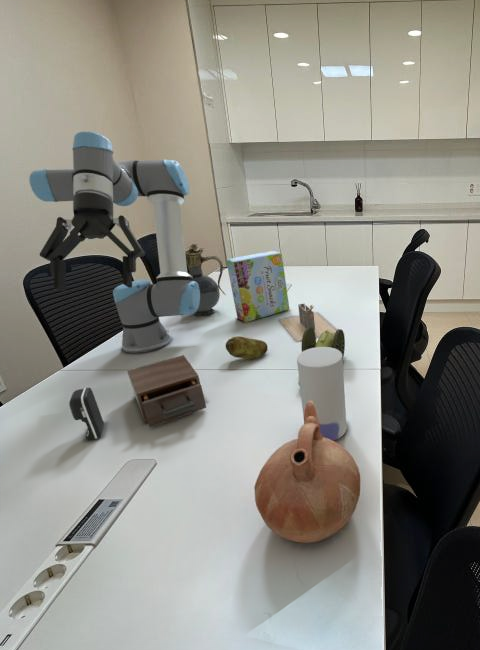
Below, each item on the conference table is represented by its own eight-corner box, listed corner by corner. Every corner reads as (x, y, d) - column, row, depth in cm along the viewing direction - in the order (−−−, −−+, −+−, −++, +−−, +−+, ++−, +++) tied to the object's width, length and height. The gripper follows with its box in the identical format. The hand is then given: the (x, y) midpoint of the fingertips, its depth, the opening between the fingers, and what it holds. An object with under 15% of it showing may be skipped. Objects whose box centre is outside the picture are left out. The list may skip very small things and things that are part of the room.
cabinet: (204, 402, 106) (198, 375, 102) (145, 423, 98) (136, 394, 94) (189, 380, 117) (183, 355, 114) (135, 397, 109) (127, 370, 106)
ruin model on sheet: (338, 332, 148) (336, 308, 144) (296, 341, 141) (294, 316, 137) (316, 313, 168) (314, 291, 165) (279, 319, 162) (276, 297, 158)
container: (352, 421, 96) (349, 349, 88) (336, 446, 88) (330, 369, 80) (316, 414, 99) (309, 343, 91) (297, 438, 91) (288, 362, 83)
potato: (267, 360, 128) (264, 338, 124) (227, 365, 125) (222, 343, 122) (268, 350, 135) (265, 329, 132) (230, 354, 133) (226, 333, 130)
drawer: (211, 415, 98) (206, 392, 96) (153, 437, 91) (146, 413, 88) (191, 385, 112) (186, 364, 110) (140, 401, 105) (133, 380, 102)
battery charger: (86, 427, 97) (71, 388, 92) (104, 422, 98) (90, 384, 94) (82, 443, 91) (65, 402, 86) (101, 438, 92) (85, 398, 88)
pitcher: (184, 312, 173) (168, 244, 161) (228, 304, 181) (216, 240, 169) (186, 319, 164) (169, 249, 152) (232, 311, 172) (220, 243, 160)
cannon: (325, 393, 109) (322, 357, 104) (285, 389, 111) (281, 354, 106) (348, 353, 131) (346, 322, 126) (314, 351, 133) (311, 320, 129)
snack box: (280, 305, 178) (273, 249, 168) (290, 310, 173) (283, 252, 162) (235, 318, 165) (225, 258, 155) (244, 323, 159) (234, 261, 149)
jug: (276, 477, 79) (263, 394, 71) (364, 477, 79) (360, 394, 71) (247, 561, 63) (225, 465, 55) (358, 563, 62) (353, 465, 54)
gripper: (20, 191, 83) (17, 286, 80) (145, 189, 88) (148, 279, 85) (43, 208, 91) (42, 295, 87) (158, 205, 95) (160, 288, 92)
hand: (94, 287), depth 86 cm, fingers open, 13 cm apart
